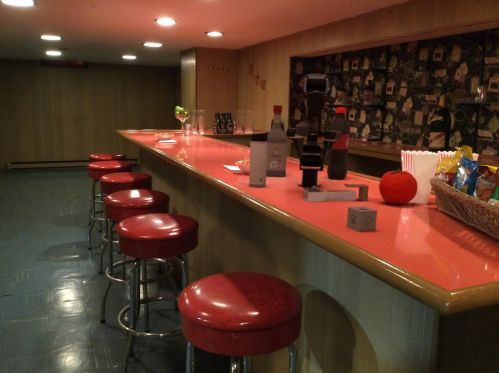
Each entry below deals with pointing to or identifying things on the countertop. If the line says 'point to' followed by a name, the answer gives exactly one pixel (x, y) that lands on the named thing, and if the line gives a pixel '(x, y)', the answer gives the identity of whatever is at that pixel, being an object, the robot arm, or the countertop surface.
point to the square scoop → (329, 195)
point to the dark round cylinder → (314, 189)
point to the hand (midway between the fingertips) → (311, 159)
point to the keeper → (360, 191)
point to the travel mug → (258, 159)
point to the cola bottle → (339, 147)
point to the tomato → (398, 187)
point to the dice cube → (361, 218)
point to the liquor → (276, 147)
